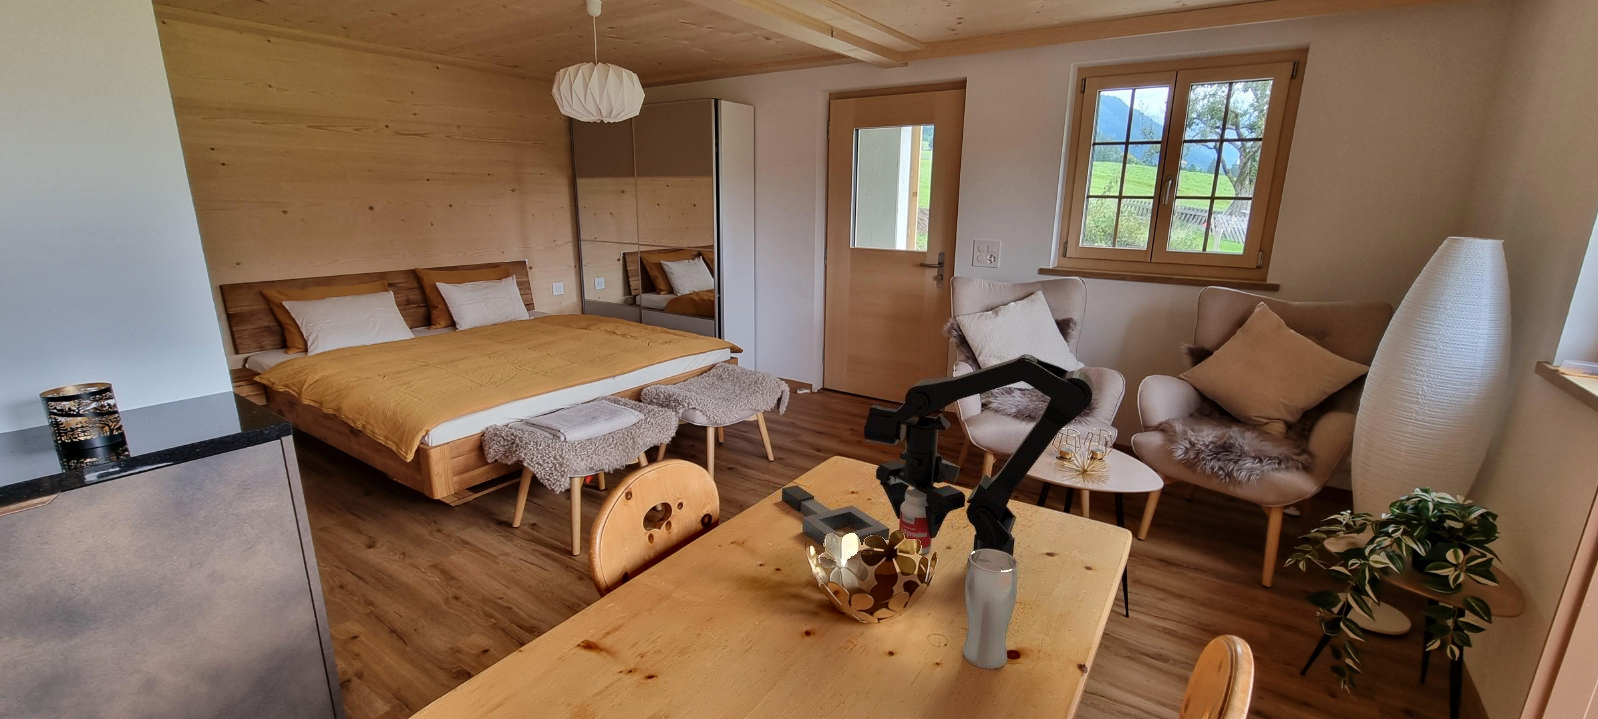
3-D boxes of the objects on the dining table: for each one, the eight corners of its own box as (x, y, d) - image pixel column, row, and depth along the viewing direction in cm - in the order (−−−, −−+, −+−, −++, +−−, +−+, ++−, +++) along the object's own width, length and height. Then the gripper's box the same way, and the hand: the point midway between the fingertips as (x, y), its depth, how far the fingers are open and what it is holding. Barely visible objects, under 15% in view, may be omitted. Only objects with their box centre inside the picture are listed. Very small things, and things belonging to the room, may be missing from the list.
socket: (888, 542, 132) (889, 528, 131) (837, 557, 126) (837, 542, 125) (812, 493, 154) (812, 480, 154) (765, 503, 148) (765, 490, 148)
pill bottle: (894, 552, 128) (897, 496, 126) (901, 538, 134) (904, 484, 132) (928, 558, 126) (931, 502, 124) (933, 543, 132) (937, 489, 130)
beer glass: (972, 635, 103) (980, 542, 100) (1017, 654, 99) (1027, 558, 96) (951, 657, 98) (958, 560, 95) (997, 678, 94) (1007, 577, 91)
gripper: (990, 457, 123) (983, 538, 126) (920, 428, 138) (915, 501, 141) (944, 467, 117) (938, 552, 120) (876, 436, 132) (872, 512, 136)
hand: (915, 527), depth 129 cm, fingers open, 9 cm apart
